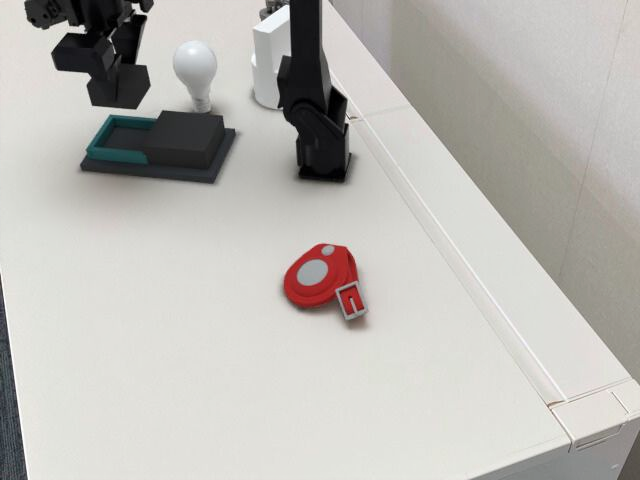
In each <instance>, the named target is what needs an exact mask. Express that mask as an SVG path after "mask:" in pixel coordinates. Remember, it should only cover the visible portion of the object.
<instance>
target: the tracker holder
mask: <svg viewBox="0 0 640 480" xmlns="http://www.w3.org/2000/svg"><path fill="white" fill-rule="evenodd" d="M282 285H283V290H284V293H285V295H286V296H287V298H288V299H289V301H290V302H291V303H292V304H293V305H296V306H298V307H302V308H305V309H306V308H316V307H321V306H324V305H326V304H328V303H330V302H332V301H333V300H334V299H336V300H337V301H338V302H339V305H340V308H341V310H342V314H343V316H344V319H345V321H351V320H352V319H353V320H354V319H355V318H357V317H360V316H363V315H365V314H367V313H369V312H370V309H369V307H368V304H367V302H366V299H365V295H364V293H363V291H362V288H361V285H360V281H359V273H358V267H357V262H356V260H355V257H354V255H353V254H352V252H351V251H350V250H349V249H348V247H347V246H345V245H338V244H332V243H324V242H323V243H318V244H316V245H314V246H313V247H311V248H310V249H308V250H307V251H306V252H304V253H303V254H302V255H301V256H300V257H298V258H297V259H296V260H295V261H294V262H293V263H292V264H291V265H290V266H289V267H288V269H287V270H286V272H285V275H284V278H283V283H282Z"/></svg>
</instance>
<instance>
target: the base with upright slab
mask: <svg viewBox="0 0 640 480" xmlns="http://www.w3.org/2000/svg"><path fill="white" fill-rule="evenodd" d="M252 35H253V45H254V52H253V53H252V54H251V57H250V59H251V60H250V61H251V70H252V80H253V90H254V99H255V100H256V102H257V103H258V104H260V105H261V106H262V107H265V108H268V109H271V110H282V111H283V107H282V108H280V109H278V108H277V106H278V102H279V97H280V95H279V90H278V86H277V75H278V71H279V67H280V63H281V59H282V55H286V56H290V57H291V40H290V11H289V5H285V6H283V7H282V8H280V9H279V10H278V11H276V12H275V13H273V14H272V15H270V16H269V17H267V18H266V19H265V20H263V21H262V22H261V21H260V22H259V23H258V24H256V25H255V26H253V27H252Z"/></svg>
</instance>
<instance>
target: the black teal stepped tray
mask: <svg viewBox="0 0 640 480" xmlns="http://www.w3.org/2000/svg"><path fill="white" fill-rule="evenodd" d="M236 133H237V131H236V129H235V128H233V127H226V126H225V120H224V115H223V114H213V113H212V114H211V113H204V114H202V113H197V112H189V111H177V110H169V109H168V110H166V109H162V110H161V111H160V113H159V114H158V116H157V118H155V117H147V116H146V117H143V116H132V115H124V114H123V115H122V114H121V115H120V114H110V113H109V115H108V116H107V118H106V119H105V121H104V122H103V124H102V125H101V126H100V128H99V129H98V131H97V132H96V134H95V135H94V136H93V138H92V140H91V141H90V143H89V144H88V146H87V147H86V149H85V151H86V155H85V156H84V157H83V159H82V161H81V162H80V163H79V167H80V170H81V171H86V172H95V173H106V174H115V175H116V174H117V175H127V176H135V177H136V176H137V177H146V178H147V177H148V178H157V179H167V180H175V181H176V180H178V181H185V182H186V181H187V182H196V183H197V182H198V183H206V184H207V183H208V184H214V182H215V181H216V180H215V179H217V175H218V173H219V172H220V169H221V167H222V165H223V163H224V161H225V159H226V156H227V154H228V152H229V150H230V148H231V145H232V144H233V141H234V139H235V137H236V135H237V134H236Z"/></svg>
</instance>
